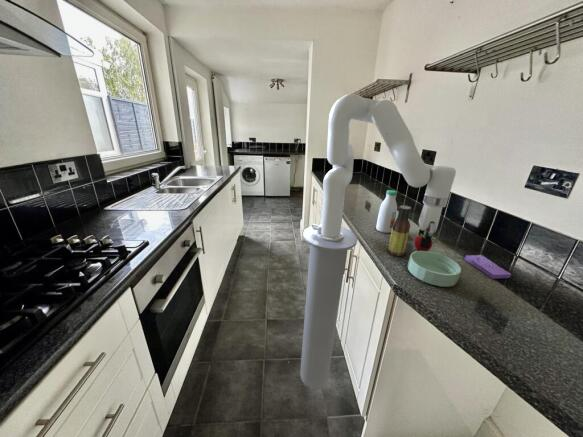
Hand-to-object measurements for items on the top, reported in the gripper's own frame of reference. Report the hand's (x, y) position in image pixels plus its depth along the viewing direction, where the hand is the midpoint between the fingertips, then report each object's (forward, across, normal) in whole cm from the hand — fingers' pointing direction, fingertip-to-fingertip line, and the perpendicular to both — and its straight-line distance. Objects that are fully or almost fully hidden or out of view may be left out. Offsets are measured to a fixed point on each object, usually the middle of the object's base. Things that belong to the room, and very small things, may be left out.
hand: (423, 242), depth 92 cm
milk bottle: (+5, -19, -14) cm, 24 cm away
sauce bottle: (+5, +3, -9) cm, 11 cm away
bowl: (+5, +14, +2) cm, 15 cm away
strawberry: (+5, 0, 0) cm, 5 cm away
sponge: (+5, +1, +22) cm, 23 cm away
